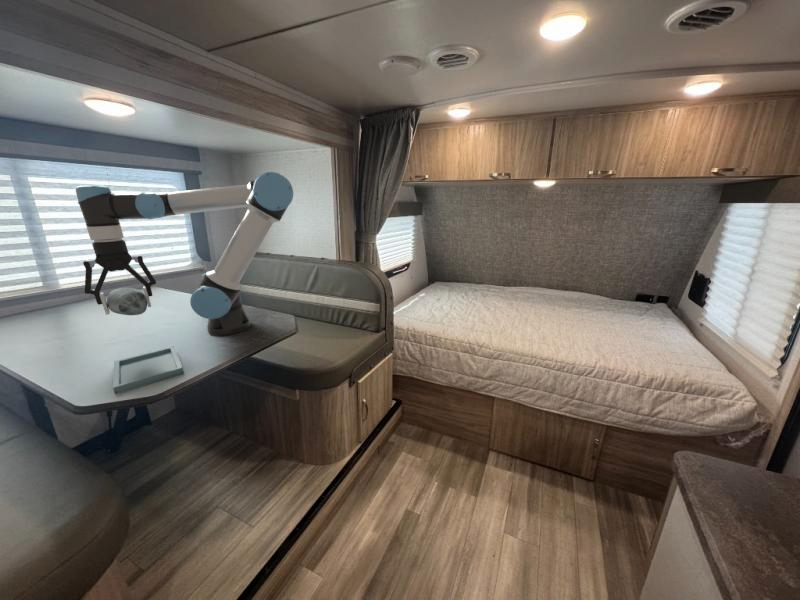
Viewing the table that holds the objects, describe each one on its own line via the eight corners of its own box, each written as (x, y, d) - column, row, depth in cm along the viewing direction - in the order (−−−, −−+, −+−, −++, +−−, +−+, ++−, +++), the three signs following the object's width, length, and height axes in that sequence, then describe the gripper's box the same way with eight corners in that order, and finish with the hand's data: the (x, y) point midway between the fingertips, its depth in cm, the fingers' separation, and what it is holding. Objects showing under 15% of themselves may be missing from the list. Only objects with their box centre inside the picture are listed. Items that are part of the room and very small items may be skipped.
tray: (175, 351, 106) (174, 345, 106) (183, 373, 92) (182, 367, 92) (116, 366, 97) (114, 361, 96) (115, 394, 83) (113, 387, 82)
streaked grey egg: (159, 302, 101) (131, 278, 96) (130, 323, 95) (100, 299, 91) (150, 304, 110) (124, 282, 105) (123, 323, 104) (95, 301, 100)
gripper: (153, 236, 104) (170, 299, 110) (57, 242, 90) (83, 314, 97) (154, 237, 98) (172, 304, 105) (52, 245, 85) (80, 321, 92)
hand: (129, 309), depth 101 cm, fingers closed on streaked grey egg, 10 cm apart
